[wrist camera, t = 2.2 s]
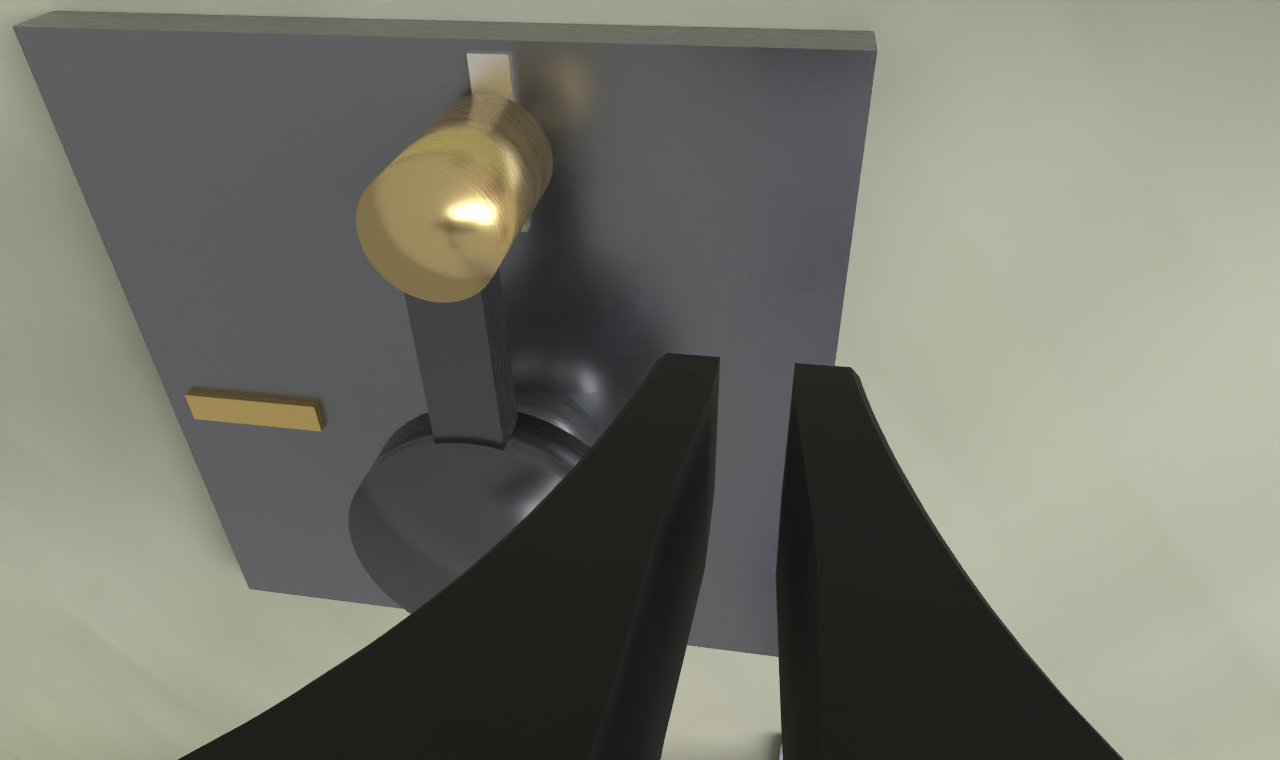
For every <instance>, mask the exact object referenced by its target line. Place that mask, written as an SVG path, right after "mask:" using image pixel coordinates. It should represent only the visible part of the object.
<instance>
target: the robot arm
mask: <svg viewBox="0 0 1280 760" xmlns="http://www.w3.org/2000/svg"><path fill="white" fill-rule="evenodd" d="M719 373H720V357H713V356H701V355H688V354H676V353H666V354H665V355H663V356H662V357H661V358H659V359H658V360H657V361H656V363H655V364H654V366H653V367H652V369H651V371H650V372H649V374H648V375H647V376H646V378H645V379H644V381H643V382H642V384H641V385H640V387H639V388H638V389H637V391H636V392H635V393H634V395H633V396H632V397H631V399H630V400H629V401H628V403H627V404H626V405H625V407H624V408H623V409H622V410H621V412H620V413H619V414H618V416H617V417H616V418H615V419H614V421H613V422H612V423H611V424H610V426H609V427H608V428H607V429H606V430H605V431H604V433H603V434H602V435H601V436H600V437H599V439H598V440H597V441H596V442H595V443H594V444H593V446H592V447H591V448H590V449H589V450H588V452H587V453H586V454H585V455H584V456H583V457H582V459H581V460H580V461H579V462H578V463H577V464H576V465H575V467H574V468H573V469H572V470H571V471H570V472H569V473H568V474H567V475H566V476H565V477H564V478H563V479H562V480H561V481H560V482H559V483H558V484H557V485H556V487H555V488H554V489H553V490H552V491H551V492H550V493H549V494H548V495H547V496H546V497H545V498H544V499H543V500H542V501H541V502H540V503H539V504H538V505H537V506H536V507H535V508H534V509H533V510H532V511H531V512H530V513H529V514H528V515H527V516H526V517H525V518H524V519H523V520H522V521H521V522H520V523H519V524H518V525H517V526H516V527H515V528H514V529H513V530H512V531H511V532H509V533H508V534H507V535H506V536H505V537H504V538H503V539H502V540H501V541H500V542H499V543H497V544H496V545H495V546H494V547H493V548H492V549H491V550H490V551H488V552H487V553H486V554H485V555H484V556H483V557H481V558H480V559H479V560H478V561H477V562H476V563H475V564H473V565H472V566H471V567H470V568H469V569H468V570H466V571H465V572H464V573H463V574H462V575H460V576H459V577H458V578H457V579H456V580H454V581H453V582H452V583H450V584H449V585H448V586H447V587H445V588H444V589H443V590H441V591H440V592H439V593H438V594H436V595H435V596H434V597H432V598H431V599H430V600H429V601H427V602H426V603H425V604H423V605H422V606H421V607H420V608H418V609H417V610H416V611H414V612H413V613H412V614H411V615H409V616H408V617H407V618H405V619H404V620H403V621H401V622H400V623H399V624H397V625H396V626H394V627H393V628H392V629H390V630H389V631H388V632H386V633H385V634H383V635H382V636H381V637H379V638H378V639H376V640H375V641H373V642H372V643H371V644H369V645H368V646H366V647H365V648H363V649H362V650H360V651H359V652H357V653H355V654H354V655H352V656H351V657H349V658H348V659H346V660H345V661H343V662H342V663H340V664H339V665H337V666H335V667H334V668H332V669H331V670H329V671H328V672H326V673H325V674H323V675H322V676H320V677H319V678H317V679H315V680H314V681H312V682H311V683H309V684H308V685H306V686H305V687H303V688H302V689H300V690H299V691H297V692H295V693H294V694H292V695H291V696H289V697H288V698H286V699H285V700H283V701H281V702H280V703H278V704H276V705H275V706H273V707H271V708H270V709H268V710H266V711H265V712H263V713H262V714H260V715H258V716H256V717H255V718H253V719H251V720H250V721H248V722H246V723H244V724H243V725H241V726H239V727H237V728H235V729H233V730H231V731H230V732H228V733H226V734H224V735H222V736H220V737H219V738H217V739H215V740H213V741H211V742H209V743H208V744H206V745H204V746H202V747H200V748H198V749H197V750H195V751H193V752H191V753H189V754H187V755H186V756H184V757H182V758H180V759H178V760H660V759H661V754H662V749H663V744H664V739H665V735H666V731H667V726H668V722H669V718H670V714H671V710H672V705H673V701H674V697H675V693H676V689H677V684H678V680H679V676H680V672H681V668H682V664H683V659H684V655H685V651H686V647H687V643H688V638H689V634H690V630H691V626H692V622H693V617H694V613H695V609H696V605H697V600H698V596H699V592H700V588H701V583H702V579H703V575H704V570H705V565H706V557H707V549H708V541H709V533H710V525H711V517H712V509H713V500H714V492H715V470H716V446H717V421H718V397H719ZM776 597H777V625H778V651H779V677H780V703H781V728H782V744H781V747H780V755H779V760H1124V759H1123V758H1122V757H1121V756H1120V755H1119V754H1118V753H1117V752H1116V751H1115V750H1114V749H1113V748H1112V747H1111V746H1110V745H1109V744H1108V743H1107V742H1106V740H1105V739H1104V738H1103V737H1102V736H1101V735H1100V734H1099V733H1098V732H1097V731H1096V730H1095V729H1094V728H1093V727H1092V726H1091V725H1090V724H1089V723H1088V722H1087V721H1086V719H1085V718H1084V717H1083V716H1082V715H1081V714H1080V713H1079V712H1078V711H1077V710H1076V709H1075V708H1074V707H1073V706H1072V705H1071V704H1070V703H1069V701H1068V700H1067V699H1066V698H1065V697H1064V696H1063V695H1062V693H1061V692H1060V691H1059V690H1058V689H1057V688H1056V686H1055V685H1054V684H1053V683H1052V682H1051V680H1050V679H1049V678H1048V677H1047V676H1046V675H1045V673H1044V672H1043V671H1042V670H1041V669H1040V668H1039V666H1038V665H1037V664H1036V663H1035V662H1034V660H1033V659H1032V658H1031V657H1030V656H1029V655H1028V653H1027V652H1026V651H1025V650H1024V649H1023V647H1022V646H1021V645H1020V644H1019V642H1018V641H1017V640H1016V638H1015V637H1014V636H1013V635H1012V633H1011V632H1010V631H1009V630H1008V628H1007V627H1006V626H1005V625H1004V623H1003V622H1002V621H1001V619H1000V618H999V617H998V616H997V614H996V613H995V612H994V611H993V609H992V608H991V607H990V605H989V604H988V603H987V601H986V600H985V598H984V597H983V596H982V594H981V593H980V592H979V590H978V589H977V588H976V586H975V585H974V583H973V582H972V581H971V579H970V578H969V576H968V575H967V573H966V572H965V571H964V569H963V568H962V566H961V565H960V563H959V562H958V560H957V559H956V557H955V556H954V554H953V553H952V551H951V550H950V548H949V547H948V545H947V544H946V542H945V541H944V539H943V538H942V536H941V535H940V533H939V532H938V530H937V529H936V527H935V525H934V524H933V522H932V520H931V519H930V517H929V516H928V514H927V512H926V511H925V509H924V508H923V506H922V504H921V502H920V501H919V499H918V497H917V495H916V494H915V492H914V490H913V488H912V487H911V485H910V483H909V481H908V480H907V478H906V476H905V474H904V473H903V471H902V469H901V467H900V466H899V464H898V462H897V460H896V458H895V456H894V454H893V452H892V451H891V449H890V447H889V445H888V443H887V441H886V438H885V436H884V434H883V432H882V430H881V428H880V426H879V424H878V422H877V420H876V418H875V415H874V413H873V411H872V409H871V406H870V404H869V401H868V399H867V396H866V394H865V391H864V389H863V386H862V383H861V380H860V377H859V376H858V375H857V374H856V373H855V371H854V370H853V369H852V368H851V367H839V366H826V365H814V364H801V363H795V367H794V377H793V387H792V396H791V406H790V416H789V426H788V435H787V445H786V455H785V465H784V474H783V484H782V494H781V506H780V521H779V535H778V550H777V565H776Z"/></svg>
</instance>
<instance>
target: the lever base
mask: <svg viewBox="0 0 1280 760" xmlns="http://www.w3.org/2000/svg"><path fill="white" fill-rule="evenodd" d="M13 28H14V31H15V33H16V36H17V38H18V40H19V43H20V45H21V47H22V50H23V52H24V55H25V57H26V59H27V62H28V64H29V66H30V69H31V71H32V74H33V76H34V78H35V81H36V83H37V85H38V88H39V90H40V93H41V95H42V97H43V100H44V102H45V105H46V107H47V109H48V112H49V114H50V116H51V119H52V121H53V124H54V126H55V128H56V131H57V133H58V135H59V138H60V140H61V143H62V145H63V147H64V150H65V152H66V154H67V157H68V159H69V162H70V164H71V166H72V169H73V171H74V173H75V176H76V178H77V181H78V183H79V185H80V188H81V190H82V192H83V195H84V197H85V200H86V202H87V204H88V207H89V209H90V211H91V214H92V216H93V219H94V221H95V223H96V226H97V228H98V230H99V233H100V235H101V238H102V240H103V242H104V245H105V247H106V249H107V252H108V254H109V257H110V259H111V261H112V264H113V266H114V268H115V271H116V273H117V276H118V278H119V280H120V283H121V285H122V288H123V290H124V292H125V295H126V297H127V299H128V302H129V304H130V307H131V309H132V311H133V314H134V316H135V318H136V321H137V323H138V326H139V328H140V330H141V333H142V335H143V337H144V340H145V342H146V345H147V347H148V349H149V352H150V354H151V356H152V359H153V361H154V364H155V366H156V368H157V371H158V373H159V375H160V378H161V380H162V383H163V385H164V387H165V390H166V392H167V394H168V397H169V399H170V402H171V404H172V406H173V409H174V411H175V413H176V416H177V418H178V421H179V423H180V425H181V428H182V430H183V432H184V435H185V437H186V440H187V442H188V444H189V447H190V449H191V451H192V454H193V456H194V459H195V461H196V463H197V466H198V468H199V470H200V473H201V475H202V478H203V480H204V482H205V485H206V487H207V490H208V492H209V494H210V497H211V499H212V501H213V504H214V506H215V509H216V511H217V513H218V516H219V518H220V520H221V523H222V525H223V528H224V530H225V532H226V535H227V537H228V539H229V542H230V544H231V547H232V549H233V551H234V554H235V556H236V558H237V561H238V563H239V566H240V568H241V570H242V573H243V575H244V577H245V580H246V582H247V585H248V587H249V589H254V590H262V591H269V592H277V593H285V594H293V595H301V596H308V597H316V598H324V599H332V600H340V601H347V602H355V603H363V604H371V605H379V606H386V607H394V608H402V607H401V606H400V605H398V604H397V603H396V602H394V601H393V600H392V599H391V598H390V597H389V596H388V595H387V594H386V593H384V592H383V591H382V590H381V589H380V587H379V586H378V585H377V584H376V583H375V582H374V581H373V580H372V578H371V577H370V576H369V574H368V573H367V572H366V570H365V569H364V567H363V566H362V564H361V562H360V560H359V558H358V557H357V555H356V552H355V550H354V547H353V545H352V542H351V537H350V532H349V519H348V517H349V510H350V505H351V502H352V499H353V496H354V494H355V492H356V491H357V489H358V487H359V486H360V484H361V482H362V481H363V479H364V478H365V476H366V474H367V473H368V471H369V469H370V468H371V466H372V465H373V463H374V461H375V460H376V458H377V456H378V455H379V453H380V452H381V450H382V448H383V447H384V445H385V444H386V442H387V440H388V439H389V438H390V437H391V436H392V435H393V434H394V433H395V431H396V430H397V429H399V428H400V427H401V426H403V425H404V424H405V423H407V422H408V421H410V420H412V419H414V418H416V417H418V416H420V415H422V414H425V413H428V408H427V403H426V398H425V393H424V388H423V383H422V378H421V373H420V369H419V364H418V359H417V354H416V349H415V344H414V339H413V334H412V330H411V325H410V320H409V315H408V310H407V305H406V300H405V295H404V292H403V291H401V290H400V289H398V288H396V287H395V286H393V285H392V284H391V283H389V282H388V281H387V280H386V279H385V278H384V277H383V276H381V275H380V273H379V272H378V271H377V270H376V269H375V268H374V267H373V265H372V264H371V262H370V261H369V260H368V258H367V256H366V254H365V253H364V251H363V249H362V246H361V244H360V241H359V238H358V234H357V228H356V212H357V207H358V203H359V200H360V198H361V196H362V194H363V192H364V191H365V190H366V188H367V187H368V186H369V185H370V184H371V183H372V182H373V181H374V180H375V179H376V178H377V177H378V176H379V175H380V174H381V173H382V172H383V171H384V170H385V169H386V168H387V167H388V166H389V165H390V164H391V163H392V162H393V161H394V160H395V159H396V158H397V157H398V156H399V155H400V154H401V153H402V152H403V151H404V150H405V149H406V148H407V147H408V146H409V145H410V144H411V143H412V142H413V141H414V140H415V139H416V138H417V137H418V136H419V135H420V134H421V133H422V132H423V131H424V130H425V129H426V128H427V127H428V126H429V125H430V124H431V123H432V122H433V121H434V120H435V119H436V118H437V117H438V116H439V115H440V114H441V113H442V112H443V111H444V110H445V109H446V108H447V107H448V106H449V105H450V104H451V103H453V102H454V101H456V100H458V99H460V98H462V97H465V96H468V95H473V94H493V95H497V96H501V97H504V98H507V99H509V100H511V101H513V102H515V103H517V104H518V105H520V106H521V107H523V108H524V109H525V110H527V111H528V112H529V113H530V114H531V115H532V116H533V117H534V118H535V119H536V120H537V122H538V123H539V124H540V126H541V127H542V129H543V130H544V132H545V134H546V136H547V138H548V141H549V143H550V147H551V150H552V157H553V169H552V175H551V179H550V182H549V184H548V187H547V189H546V190H545V192H544V193H543V195H542V197H541V198H540V200H539V202H538V203H537V205H536V207H535V208H534V210H533V212H532V213H531V215H530V216H529V218H528V220H527V221H526V223H525V225H524V226H523V228H522V230H521V231H520V233H519V235H518V236H517V238H516V239H515V241H514V243H513V244H512V246H511V248H510V249H509V251H508V253H507V254H506V256H505V258H504V259H503V261H502V262H501V264H500V266H499V273H500V280H501V288H502V296H503V303H504V311H505V319H506V327H507V334H508V342H509V350H510V358H511V365H512V373H513V381H514V389H515V396H516V404H517V411H518V412H522V413H525V414H528V415H531V416H534V417H537V418H540V419H542V420H545V421H547V422H549V423H551V424H553V425H555V426H557V427H560V428H561V429H563V430H565V431H566V432H568V433H570V434H571V435H573V436H575V437H577V438H578V439H579V440H581V441H582V442H583V443H585V444H586V445H587V446H589V447H590V448H591V447H592V446H593V444H594V443H595V442H596V441H597V440H598V439H599V437H600V436H601V435H602V434H603V433H604V431H605V430H606V429H607V428H608V427H609V426H610V424H611V423H612V422H613V421H614V419H615V418H616V417H617V416H618V414H619V413H620V412H621V410H622V409H623V408H624V407H625V405H626V404H627V403H628V401H629V400H630V399H631V397H632V396H633V395H634V393H635V392H636V391H637V389H638V388H639V387H640V385H641V384H642V382H643V381H644V379H645V378H646V376H647V375H648V374H649V372H650V371H651V369H652V367H653V366H654V364H655V363H656V361H657V360H658V359H659V358H661V357H662V356H663V355H665V354H666V353H676V354H688V355H701V356H713V357H720V373H719V397H718V421H717V446H716V470H715V492H714V500H713V509H712V517H711V525H710V533H709V541H708V549H707V557H706V565H705V570H704V575H703V579H702V583H701V588H700V592H699V596H698V600H697V605H696V609H695V613H694V617H693V622H692V626H691V630H690V634H689V638H688V643H687V645H691V646H698V647H706V648H714V649H722V650H730V651H737V652H745V653H753V654H761V655H769V656H776V657H779V651H778V625H777V597H776V565H777V550H778V535H779V521H780V506H781V494H782V484H783V474H784V465H785V455H786V445H787V435H788V426H789V416H790V406H791V396H792V387H793V377H794V367H795V363H801V364H814V365H826V366H835V359H836V351H837V344H838V336H839V329H840V322H841V314H842V307H843V299H844V292H845V285H846V277H847V270H848V263H849V255H850V248H851V240H852V233H853V226H854V218H855V211H856V203H857V196H858V189H859V181H860V174H861V166H862V159H863V152H864V144H865V137H866V129H867V122H868V115H869V107H870V100H871V93H872V85H873V78H874V70H875V63H876V56H877V46H876V40H875V34H874V32H862V31H823V30H783V29H743V28H703V27H663V26H623V25H583V24H543V23H503V22H464V21H424V20H384V19H344V18H304V17H264V16H224V15H184V14H145V13H105V12H65V11H53V12H50V13H48V14H45V15H42V16H40V17H37V18H34V19H31V20H29V21H26V22H23V23H20V24H18V25H15V26H13ZM402 609H404V608H402Z"/></svg>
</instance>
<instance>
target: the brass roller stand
mask: <svg viewBox="0 0 1280 760" xmlns="http://www.w3.org/2000/svg"><path fill="white" fill-rule="evenodd" d="M552 169H553V157H552V150H551V147H550V143H549V141H548V138H547V136H546V134H545V132H544V130H543V129H542V127H541V126H540V124H539V123H538V122H537V120H536V119H535V118H534V117H533V116H532V115H531V114H530V113H529V112H528V111H527V110H525V109H524V108H523V107H521V106H520V105H518V104H517V103H515V102H513V101H511V100H509V99H507V98H504V97H501V96H497V95H493V94H473V95H468V96H465V97H462V98H460V99H458V100H456V101H454V102H453V103H451V104H450V105H449V106H448V107H447V108H446V109H445V110H444V111H443V112H442V113H441V114H440V115H439V116H438V117H437V118H436V119H435V120H434V121H433V122H432V123H431V124H430V125H429V126H428V127H427V128H426V129H425V130H424V131H423V132H422V133H421V134H420V135H419V136H418V137H417V138H416V139H415V140H414V141H413V142H412V143H411V144H410V145H409V146H408V147H407V148H406V149H405V150H404V151H403V152H402V153H401V154H400V155H399V156H398V157H397V158H396V159H395V160H394V161H393V162H392V163H391V164H390V165H389V166H388V167H387V168H386V169H385V170H384V171H383V172H382V173H381V174H380V175H379V176H378V177H377V178H376V179H375V180H374V181H373V182H372V183H371V184H370V185H369V186H368V187H367V188H366V190H365V191H364V192H363V194H362V196H361V198H360V200H359V203H358V207H357V212H356V228H357V234H358V238H359V241H360V244H361V246H362V249H363V251H364V253H365V254H366V256H367V258H368V260H369V261H370V262H371V264H372V265H373V267H374V268H375V269H376V270H377V271H378V272H379V273H380V275H381V276H383V277H384V278H385V279H386V280H387V281H388V282H389V283H391V284H392V285H393V286H395V287H396V288H398V289H400V290H401V291H403V292H404V295H405V300H406V305H407V310H408V315H409V320H410V325H411V330H412V334H413V339H414V344H415V349H416V354H417V359H418V364H419V369H420V373H421V378H422V383H423V388H424V393H425V398H426V403H427V408H428V413H425V414H422V415H420V416H418V417H416V418H414V419H412V420H410V421H408V422H407V423H405V424H404V425H403V426H401V427H400V428H399V429H397V430H396V431H395V433H394V434H393V435H392V436H391V437H390V438H389V439H388V440H387V442H386V444H385V445H384V447H383V448H382V450H381V452H380V453H379V455H378V456H377V458H376V460H375V461H374V463H373V465H372V466H371V468H370V469H369V471H368V473H367V474H366V476H365V478H364V479H363V481H362V482H361V484H360V486H359V487H358V489H357V491H356V492H355V494H354V496H353V499H352V502H351V505H350V510H349V517H348V519H349V532H350V537H351V542H352V545H353V547H354V550H355V552H356V555H357V557H358V558H359V560H360V562H361V564H362V566H363V567H364V569H365V570H366V572H367V573H368V574H369V576H370V577H371V578H372V580H373V581H374V582H375V583H376V584H377V585H378V586H379V587H380V589H381V590H382V591H383V592H384V593H386V594H387V595H388V596H389V597H390V598H391V599H392V600H393V601H394V602H396V603H397V604H398V605H400V606H401V607H402V608H404V609H405V610H406V611H408V612H409V613H411V614H412V613H413V612H414V611H416V610H417V609H418V608H420V607H421V606H422V605H423V604H425V603H426V602H427V601H429V600H430V599H431V598H432V597H434V596H435V595H436V594H438V593H439V592H440V591H441V590H443V589H444V588H445V587H447V586H448V585H449V584H450V583H452V582H453V581H454V580H456V579H457V578H458V577H459V576H460V575H462V574H463V573H464V572H465V571H466V570H468V569H469V568H470V567H471V566H472V565H473V564H475V563H476V562H477V561H478V560H479V559H480V558H481V557H483V556H484V555H485V554H486V553H487V552H488V551H490V550H491V549H492V548H493V547H494V546H495V545H496V544H497V543H499V542H500V541H501V540H502V539H503V538H504V537H505V536H506V535H507V534H508V533H509V532H511V531H512V530H513V529H514V528H515V527H516V526H517V525H518V524H519V523H520V522H521V521H522V520H523V519H524V518H525V517H526V516H527V515H528V514H529V513H530V512H531V511H532V510H533V509H534V508H535V507H536V506H537V505H538V504H539V503H540V502H541V501H542V500H543V499H544V498H545V497H546V496H547V495H548V494H549V493H550V492H551V491H552V490H553V489H554V488H555V487H556V485H557V484H558V483H559V482H560V481H561V480H562V479H563V478H564V477H565V476H566V475H567V474H568V473H569V472H570V471H571V470H572V469H573V468H574V467H575V465H576V464H577V463H578V462H579V461H580V460H581V459H582V457H583V456H584V455H585V454H586V453H587V452H588V450H589V449H590V447H589V446H587V445H586V444H585V443H583V442H582V441H581V440H579V439H578V438H577V437H575V436H573V435H571V434H570V433H568V432H566V431H565V430H563V429H561V428H560V427H557V426H555V425H553V424H551V423H549V422H547V421H545V420H542V419H540V418H537V417H534V416H531V415H528V414H525V413H522V412H518V411H517V404H516V396H515V389H514V381H513V373H512V365H511V358H510V350H509V342H508V334H507V327H506V319H505V311H504V303H503V296H502V288H501V280H500V273H499V266H500V264H501V262H502V261H503V259H504V258H505V256H506V254H507V253H508V251H509V249H510V248H511V246H512V244H513V243H514V241H515V239H516V238H517V236H518V235H519V233H520V231H521V230H522V228H523V226H524V225H525V223H526V221H527V220H528V218H529V216H530V215H531V213H532V212H533V210H534V208H535V207H536V205H537V203H538V202H539V200H540V198H541V197H542V195H543V193H544V192H545V190H546V189H547V187H548V184H549V182H550V179H551V175H552Z"/></svg>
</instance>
